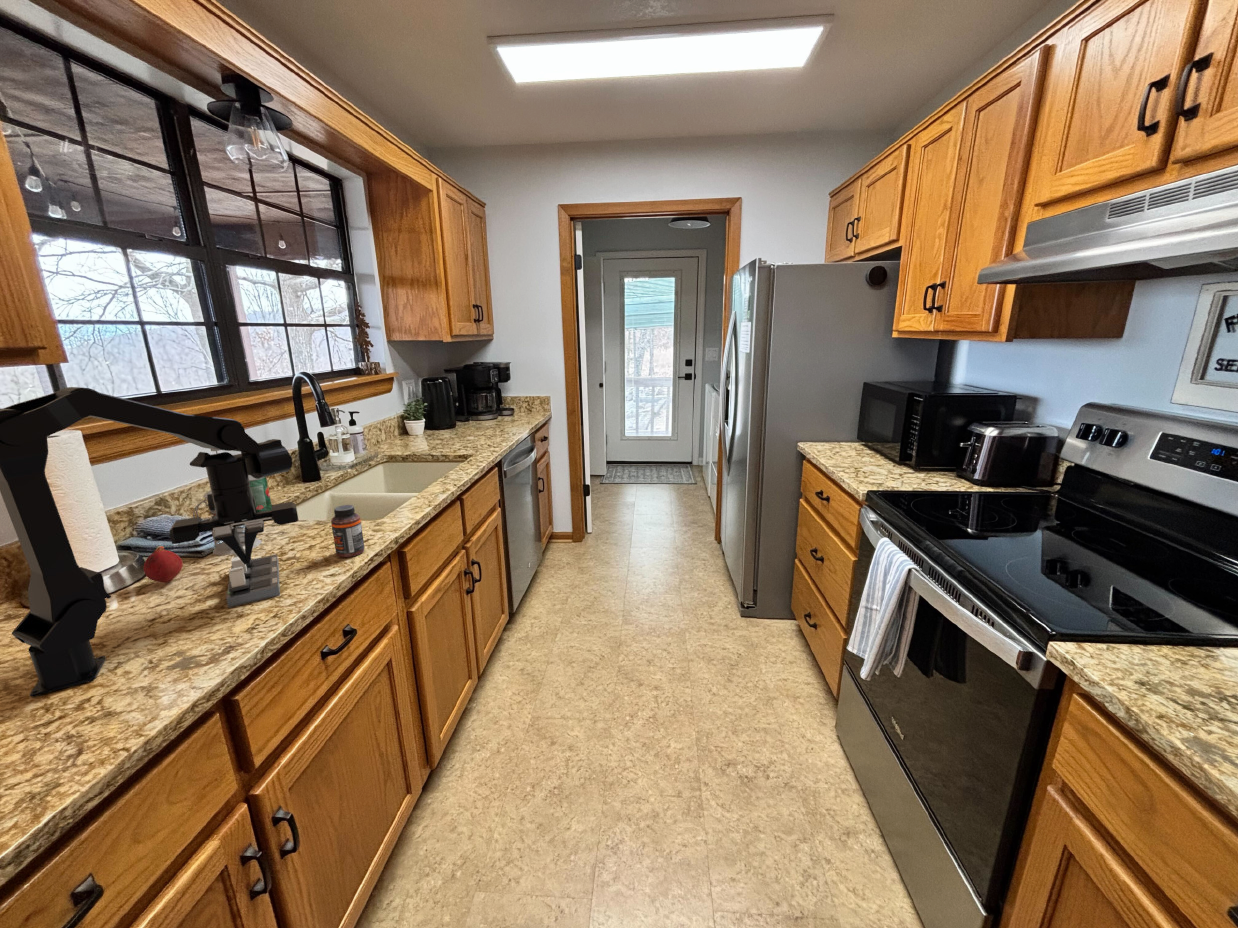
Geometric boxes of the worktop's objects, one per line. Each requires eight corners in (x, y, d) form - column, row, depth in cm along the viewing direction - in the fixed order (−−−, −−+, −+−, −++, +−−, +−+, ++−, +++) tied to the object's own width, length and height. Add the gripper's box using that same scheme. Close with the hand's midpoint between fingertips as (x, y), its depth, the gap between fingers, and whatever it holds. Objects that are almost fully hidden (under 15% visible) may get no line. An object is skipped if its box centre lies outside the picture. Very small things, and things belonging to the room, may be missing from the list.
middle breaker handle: (250, 575, 99) (246, 559, 98) (231, 579, 97) (227, 563, 96) (250, 570, 101) (247, 554, 100) (232, 574, 100) (228, 557, 99)
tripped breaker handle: (248, 587, 94) (245, 570, 93) (229, 592, 93) (225, 574, 92) (249, 581, 97) (245, 564, 96) (230, 586, 95) (226, 568, 94)
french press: (255, 550, 117) (233, 447, 111) (194, 559, 113) (168, 452, 106) (266, 536, 126) (247, 439, 119) (211, 543, 121) (188, 444, 115)
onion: (163, 590, 98) (153, 553, 96) (140, 588, 99) (130, 551, 97) (193, 577, 104) (184, 542, 102) (171, 575, 105) (162, 540, 103)
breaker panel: (279, 595, 96) (278, 585, 96) (228, 607, 92) (226, 597, 91) (278, 562, 110) (276, 553, 110) (233, 571, 106) (231, 562, 106)
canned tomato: (279, 509, 145) (272, 473, 143) (257, 519, 138) (249, 481, 135) (255, 508, 146) (248, 473, 144) (232, 518, 139) (224, 480, 136)
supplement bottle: (330, 555, 114) (322, 509, 111) (354, 546, 119) (347, 501, 116) (347, 560, 111) (339, 513, 108) (370, 550, 116) (364, 505, 113)
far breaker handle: (251, 565, 104) (247, 549, 103) (233, 568, 102) (229, 552, 101) (251, 560, 106) (248, 544, 105) (234, 563, 105) (230, 547, 104)
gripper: (289, 468, 102) (302, 538, 106) (170, 484, 92) (189, 561, 96) (291, 480, 93) (305, 556, 97) (159, 499, 83) (181, 583, 87)
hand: (247, 563), depth 95 cm, fingers closed
